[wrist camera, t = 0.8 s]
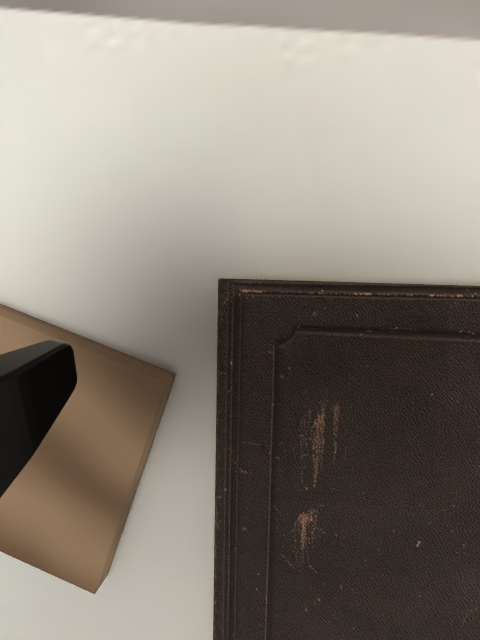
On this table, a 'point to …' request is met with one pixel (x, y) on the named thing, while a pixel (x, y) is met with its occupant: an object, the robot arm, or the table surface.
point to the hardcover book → (347, 461)
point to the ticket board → (82, 458)
